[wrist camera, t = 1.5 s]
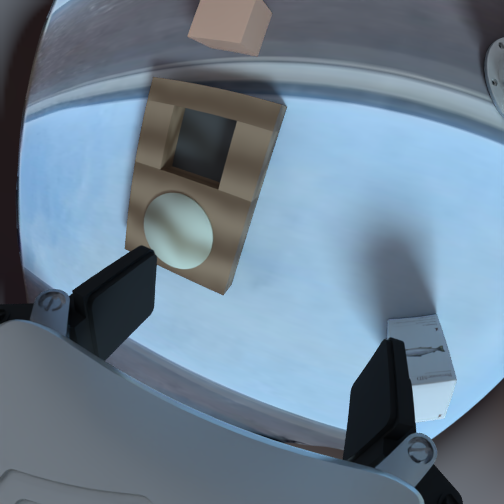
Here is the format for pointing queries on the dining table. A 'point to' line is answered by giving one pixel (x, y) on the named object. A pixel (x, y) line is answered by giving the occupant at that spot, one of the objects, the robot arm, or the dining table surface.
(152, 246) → the hole platform
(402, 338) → the supplement box
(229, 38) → the block
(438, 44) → the dining table surface
